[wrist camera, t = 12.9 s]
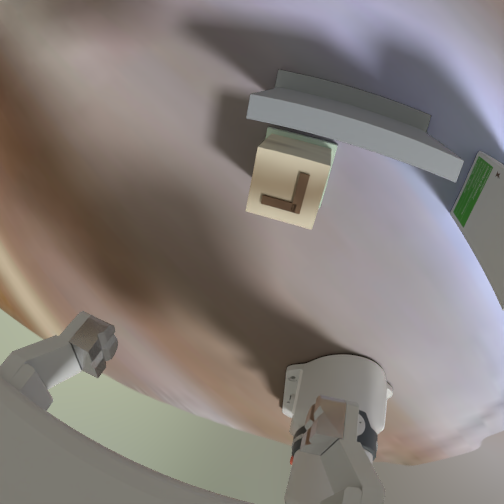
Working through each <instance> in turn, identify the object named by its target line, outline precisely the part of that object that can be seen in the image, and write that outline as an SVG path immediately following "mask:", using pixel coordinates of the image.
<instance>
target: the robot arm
mask: <svg viewBox="0 0 504 504" xmlns="http://www.w3.org/2000/svg"><path fill="white" fill-rule="evenodd" d="M114 332H115V328H114V325H111V324H109V323H107V322H105V321H103V320H101V319H98V318H96V317H94V316H93V315H90V314H88V313H86V312H84V311H82V312H80V313H79V314H78V315H77V316H76V317H75V318H74V319H73V321H72V322H71V323H70V324H69V325H68V326H67V327H66V329H65V330H64V331H63V332H62V333H61V334H60V335H59V336H57V335H55V336H53V337H50V338H47V339H45V340H42V341H39V342H37V343H34V344H31V345H28V346H26V347H23V348H20V349H18V350H15V351H12V353H11V354H10V355H9V356H8V357H7V358H6V360H5V361H4V362H3V363H2V364H1V366H0V504H254V503H249V502H245V501H242V500H238V499H234V498H230V497H227V496H223V495H220V494H217V493H214V492H211V491H207V490H205V489H202V488H199V487H196V486H193V485H190V484H187V483H184V482H181V481H179V480H177V479H174V478H171V477H169V476H166V475H163V474H161V473H159V472H157V471H154V470H152V469H150V468H147V467H145V466H143V465H141V464H138V463H136V462H134V461H132V460H130V459H128V458H126V457H124V456H122V455H120V454H118V453H116V452H114V451H112V450H110V449H108V448H106V447H104V446H102V445H101V444H99V443H97V442H95V441H93V440H92V439H90V438H88V437H86V436H85V435H83V434H81V433H80V432H78V431H76V430H75V429H73V428H71V427H70V426H68V425H67V424H65V423H63V422H62V421H60V420H59V419H57V418H56V417H54V416H53V415H51V414H50V413H48V412H47V409H48V408H49V406H50V405H51V403H52V402H53V398H52V396H51V395H50V393H49V392H48V390H47V389H49V388H51V387H53V386H55V385H57V384H59V383H61V382H62V381H64V380H66V379H68V378H70V377H72V376H74V375H75V374H77V373H79V372H81V371H82V370H83V371H85V372H86V373H88V374H90V375H92V376H94V377H96V378H98V377H99V376H100V375H101V373H102V372H103V370H104V369H105V368H106V361H108V360H110V359H112V357H113V356H114V354H115V352H116V350H117V346H118V341H117V338H116V336H115V335H114ZM392 395H393V388H392V387H391V386H390V385H389V384H388V383H387V381H386V377H385V373H384V371H383V369H382V368H381V367H380V366H379V365H378V364H376V363H375V362H373V361H371V360H369V359H367V358H364V357H360V356H355V355H343V354H342V355H330V356H325V357H321V358H318V359H315V360H313V361H311V362H308V363H305V364H296V365H291V366H288V367H287V369H286V379H285V388H284V398H283V407H282V412H283V413H284V414H285V415H287V416H288V417H290V418H292V421H291V425H290V430H289V432H290V433H291V435H293V437H294V439H293V443H292V457H291V460H290V464H291V465H292V468H291V472H290V477H289V481H288V485H287V489H286V493H285V504H384V495H385V488H384V486H383V484H382V482H381V480H380V479H379V477H378V475H377V473H376V471H375V469H374V467H373V465H372V463H373V460H374V459H375V458H376V451H377V448H378V443H377V434H379V433H380V432H381V431H383V429H384V425H385V416H386V404H387V399H389V398H390V397H391V396H392Z"/></svg>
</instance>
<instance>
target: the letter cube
mask: <svg viewBox="0 0 504 504" xmlns="http://www.w3.org/2000/svg"><path fill="white" fill-rule="evenodd" d="M331 151H332V149H329V148H326V147H322V146H318V145H315V144H311V143H308V142H304V141H300V140H296V139H292V138H288V137H284V136H280V135H276V134H271V135H270V136H269V137H268V138H266V139H265V140H264V141H263V142H262V143H261V144H260V145H259V146H258V149H257V154H256V159H255V164H254V170H253V175H252V180H251V185H250V191H249V196H248V201H247V207H246V212H250V213H254V214H257V215H261V216H265V217H268V218H272V219H275V220H279V221H282V222H286V223H290V224H293V225H297V226H300V227H303V228H307V229H310V230H312V227H313V224H314V221H315V218H316V214H317V211H318V208H319V204H320V201H321V198H322V194H323V191H324V187H325V184H326V181H327V177H328V174H329V170H330V167H331Z"/></svg>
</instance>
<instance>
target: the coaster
mask: <svg viewBox="0 0 504 504" xmlns="http://www.w3.org/2000/svg"><path fill="white" fill-rule="evenodd" d="M271 134H276V135H280V136H284V137H288V138H292V139H296V140H300V141H304V142H308V143H311V144H315V145H318V146H322V147H326V148H329V149H332V151H331V167H330V170H329V174H328V177H327V181H326V184H325V187H324V191H323V194H322V198H321V201H320V204H319V208H320V206H321V203H322V199H323V196H324V192H325V189H326V185H327V182H328V178H329V175H330V171H331V168H332V164H333V160H334V157H335V153H336V149H337V146H338V144H335V143H331V142H328V141H324V140H321V139H317V138H313V137H309V136H306V135H302V134H298V133H294V132H290V131H285V130H281V129H277V128H273V127H268V128H267V132H266V138H268V137H269V136H270V135H271ZM266 138H265V139H266Z"/></svg>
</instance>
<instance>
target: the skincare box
mask: <svg viewBox="0 0 504 504" xmlns="http://www.w3.org/2000/svg"><path fill="white" fill-rule="evenodd" d="M450 215H451V216H452V218H453V219H454V221H455V222H456V224H457V226H458V227H459V229H460V230H461V232H462V234H463V235H464V237H465V239H466V240H467V242H468V244H469V245H470V247H471V249H472V251H473V252H474V254H475V256H476V258H477V260H478V261H479V263H480V265H481V267H482V269H483V271H484V272H485V274H486V276H487V278H488V280H489V282H490V284H491V286H492V288H493V290H494V292H495V294H496V296H497V299H498V301H499V303H500V305H501V307H502V310H504V164H502V163H500V162H499V161H497V160H495V159H494V158H492V157H490V156H489V155H487V154H485V153H483V152H482V151H478V153H477V155H476V157H475V160H474V163H473V165H472V167H471V169H470V171H469V173H468V176H467V178H466V180H465V183H464V185H463V187H462V189H461V191H460V193H459V196H458V198H457V200H456V202H455V204H454V206H453V207H452V209H451V212H450Z"/></svg>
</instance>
